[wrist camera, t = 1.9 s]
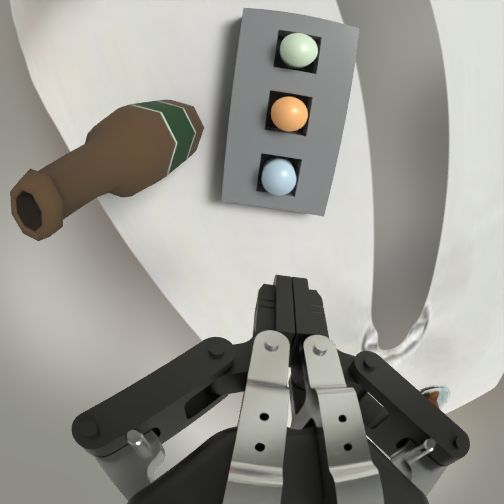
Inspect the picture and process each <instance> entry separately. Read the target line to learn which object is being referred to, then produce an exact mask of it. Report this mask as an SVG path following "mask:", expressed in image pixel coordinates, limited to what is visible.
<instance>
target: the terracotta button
mask: <svg viewBox="0 0 504 504" xmlns="http://www.w3.org/2000/svg"><path fill="white" fill-rule="evenodd" d="M271 117H272V120H273V122H274V124H275V125H276V126H277V127H278V128H280V129H281V130H284V131H296V130H298V129H300V128H301V127H303V126H304V124H305V123H306V121H307V118H308V112H307V108H306V106H305V105H304V103H303V102H302V101H300V100H299V99H297V98H294V97H282V98H279V99H278V100H276V101H275V102H274V104H273V105H272V108H271Z"/></svg>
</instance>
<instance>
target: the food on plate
mask: <svg viewBox="0 0 504 504" xmlns="http://www.w3.org/2000/svg"><path fill="white" fill-rule="evenodd" d="M422 393H425V394H423V395H424V396H425V397H426V398H427V399H428V400H430V401H431V402H432V403H433V404H434V405H435V406H436V407H437V408H439V409H440V408H441V407H442V406H443V405H444V404H445V403H446V402H447V400H448V398H449V396H450V392H449V390H448V389H447V388H438V387H437V388H433V389H429V390H425V391H424V392H422ZM385 409H386V408H385Z"/></svg>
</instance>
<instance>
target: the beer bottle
mask: <svg viewBox="0 0 504 504" xmlns="http://www.w3.org/2000/svg"><path fill="white" fill-rule="evenodd" d="M203 129H204V126H203V124H202V122H201V120H200V118H199V116H198V114H197V112H196V110H195V108H194V107H193V106H190V105H187V104H183V103H180V102H176V101H172V100H160V101H152V102H144V103H137V104H130V105H127V106H124V107H121V108H118V109H117V110H116V111H114V112H113V113H111V114H110V115H109V116H107V117H106V118H105V119H103V120H102V121H101V122H100V123H98V124H97V125H96V126H94V127H93V128H92V130H91V131H90V132H89V133H88V134H87V138H86V142H85V144H84V145H83V146H81V147H79V148H77V149H75V150H73V151H71V152H70V153H68V154H66V155H64V156H63V157H61V158H59V159H57V160H56V161H54V162H52V163H51V164H49V165H47V166H46V167H44V168H43V169H41V170H39V171H35V170H32V169H30V170H29V171H28V172H27V173H26V174H25V175H24V176H23V177H22V178H21V179H20V180H19V182H18V183H17V184H16V185H15V187H14V188H13V189H12V190H11V192H10V195H11V210H12V215H13V217H14V218H15V220H16V222H17V223H18V225H19V227H20V229H21V230H22V232H23V233H24V234H26V235H28V236H29V237H31V238H33V239H35V240H37V241H40V240H42V239H45V238H47V237H50V236H51V235H52V234H53V233H55V232H56V231H58V230H59V229H60V228H62V226H63V219H65V218H66V217H68V216H69V215H70V214H72V213H73V212H75V211H76V210H78V209H79V208H81V207H82V206H84V205H85V204H87V203H89V202H90V201H92V200H93V199H95V198H96V197H98V196H101V195H103V194H106V193H111V194H114V195H117V196H120V197H130V196H133V195H134V194H136V193H138V192H140V191H142V190H143V189H145V188H147V187H149V186H151V185H153V184H155V183H156V182H158V181H160V180H161V179H163V178H164V177H166V176H167V175H169V174H170V173H171V172H172V171H173V170H174V169H175V168H177V167H178V166H179V165H180V164H181V163H183V162H184V161H185V160H186V159H187V158H189V157H190V156H191V155H192V154H193V153H194V152H195V151H196V150H197V147H198V144H199V141H200V138H201V135H202V132H203Z"/></svg>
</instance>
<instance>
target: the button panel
mask: <svg viewBox="0 0 504 504" xmlns="http://www.w3.org/2000/svg"><path fill="white" fill-rule="evenodd" d="M293 33H302V34H305V35H308V36H309V37H311V38H312V39H313V40H314V41H315V42H317V48H318V54H317V57H316V58H315V62H314V68H313V74H312V73H307V72H302V71H297V70H291V69H284V68H278V67H274V60H275V53H276V46H277V39H278V36H285V37H286V36H288V35H290V34H293ZM358 36H359V28H356V27H352V26H349V25H345V24H341V23H337V22H333V21H329V20H325V19H321V18H316V17H311V16H306V15H300V14H294V13H288V12H281V11H273V10H264V9H252V8H244V9H243V16H242V22H241V29H240V36H239V43H238V50H237V57H236V65H235V72H234V80H233V88H232V97H231V105H230V114H229V123H228V133H227V143H226V153H225V163H224V174H223V185H222V197H221V202H229V203H237V204H245V205H252V206H260V207H267V208H274V209H280V210H287V211H294V212H300V213H306V214H312V215H319V216H324V214H325V210H326V206H327V202H328V197H329V193H330V189H331V185H332V180H333V176H334V172H335V167H336V163H337V158H338V153H339V149H340V144H341V139H342V134H343V129H344V124H345V119H346V113H347V108H348V102H349V97H350V91H351V85H352V79H353V72H354V66H355V59H356V52H357V44H358ZM270 91H276V92H283V93H289V94H295V95H301V96H306V97H309V100H308V107H307V112H308V118H307V121H306V123H305V125H304V131H303V133H301V132H295V131H284V130H281V129H276V128H270V127H265V124H266V117H267V109H268V102H269V95H270ZM261 153H263V154H270V155H277V156H283V157H290V158H296V159H298V165H297V170H296V184H295V186H294V188H293V189H292V190H291V191H290V192H289V193H287V194H285V195H273V194H271V193H269V192H268V191H267V190H266V189H265V188H264V186H263V184H262V183H257V182H258V174H259V167H260V160H261Z"/></svg>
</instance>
